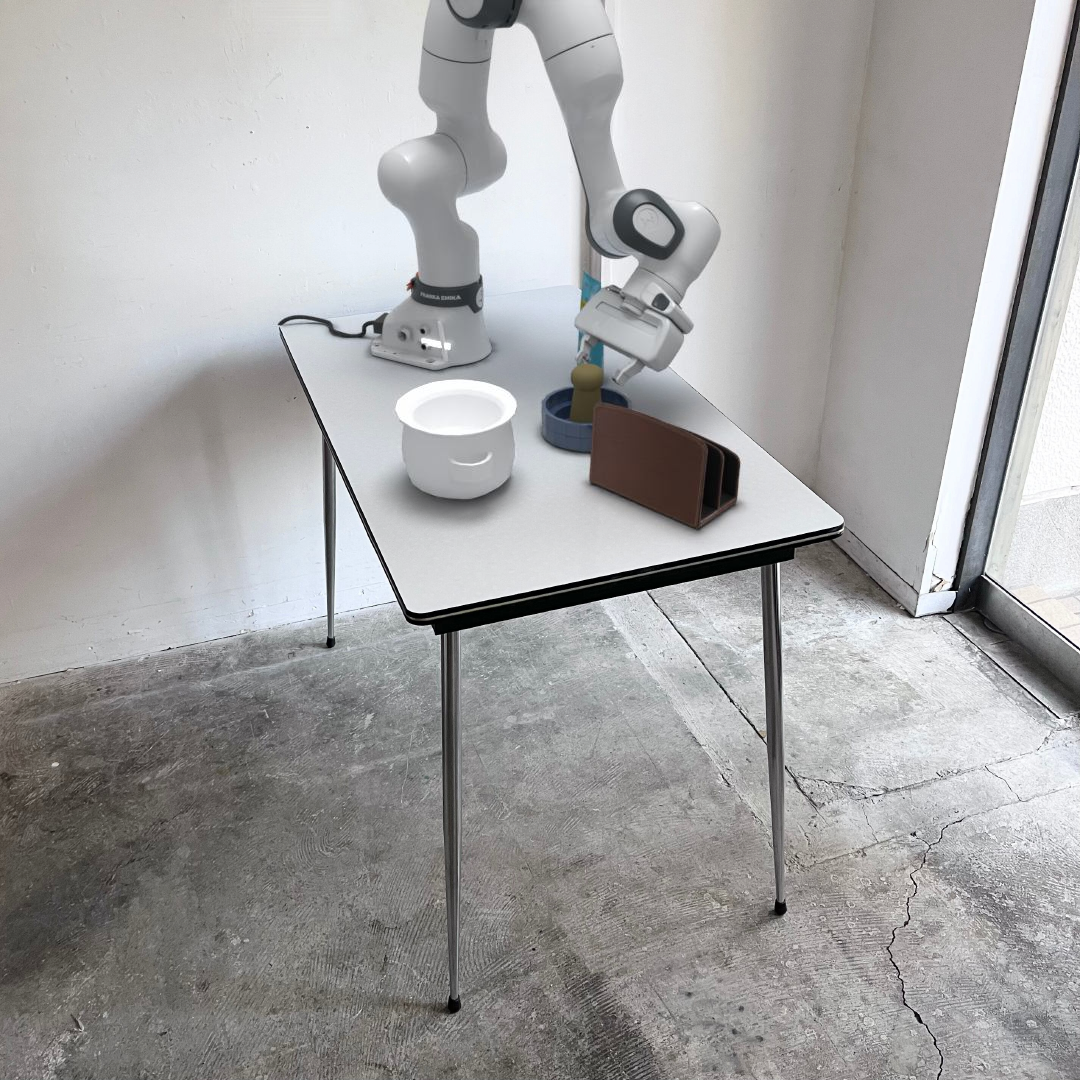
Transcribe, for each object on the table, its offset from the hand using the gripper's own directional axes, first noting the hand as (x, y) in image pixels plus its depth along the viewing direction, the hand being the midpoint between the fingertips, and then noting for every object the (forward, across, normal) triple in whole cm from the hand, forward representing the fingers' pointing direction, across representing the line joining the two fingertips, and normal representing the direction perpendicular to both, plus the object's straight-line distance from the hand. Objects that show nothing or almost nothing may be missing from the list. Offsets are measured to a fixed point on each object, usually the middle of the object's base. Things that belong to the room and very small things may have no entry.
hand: (597, 373), depth 171 cm
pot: (+26, +1, -12) cm, 29 cm away
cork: (+8, 0, +5) cm, 10 cm away
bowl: (+8, 0, +6) cm, 10 cm away
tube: (0, -15, +14) cm, 21 cm away
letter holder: (+11, +22, +4) cm, 24 cm away
